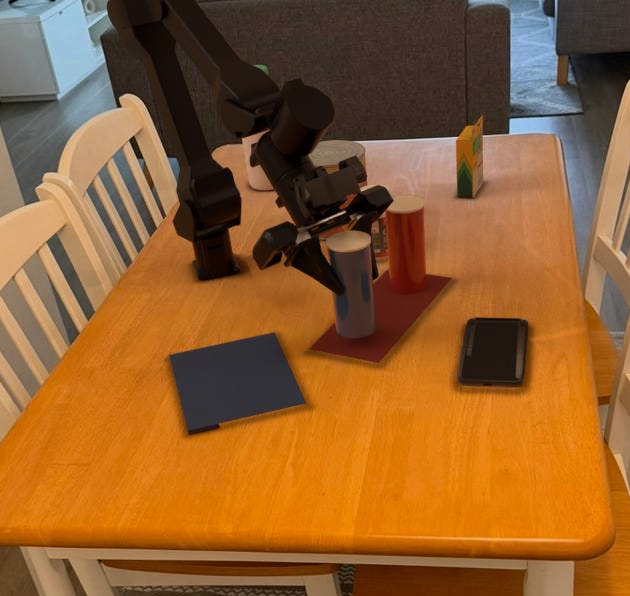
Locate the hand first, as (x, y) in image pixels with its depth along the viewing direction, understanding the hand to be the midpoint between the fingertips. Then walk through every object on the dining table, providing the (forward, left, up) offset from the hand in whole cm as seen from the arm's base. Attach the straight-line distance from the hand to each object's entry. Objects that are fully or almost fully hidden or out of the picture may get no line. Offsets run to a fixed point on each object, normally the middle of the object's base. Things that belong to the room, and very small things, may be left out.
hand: (359, 286), depth 108 cm
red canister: (-13, +10, -8) cm, 18 cm away
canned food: (-39, +7, -9) cm, 40 cm away
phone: (+9, +14, -9) cm, 19 cm away
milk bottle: (-63, +1, -9) cm, 64 cm away
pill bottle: (-26, +10, -9) cm, 29 cm away
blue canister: (-1, -1, -6) cm, 7 cm away
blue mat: (+1, -17, -9) cm, 19 cm away
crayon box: (-43, +32, -9) cm, 54 cm away
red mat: (-7, +5, -9) cm, 12 cm away
